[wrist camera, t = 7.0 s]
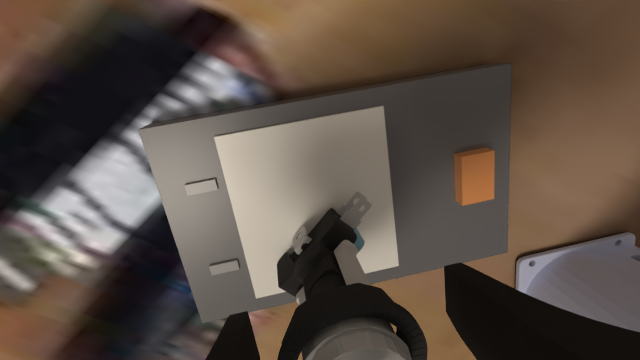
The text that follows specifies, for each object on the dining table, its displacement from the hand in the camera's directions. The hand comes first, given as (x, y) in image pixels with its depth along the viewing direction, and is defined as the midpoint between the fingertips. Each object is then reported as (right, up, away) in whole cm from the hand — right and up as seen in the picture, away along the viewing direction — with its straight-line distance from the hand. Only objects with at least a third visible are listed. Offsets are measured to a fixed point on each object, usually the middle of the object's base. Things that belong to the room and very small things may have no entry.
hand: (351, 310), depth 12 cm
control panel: (0, +4, +10) cm, 11 cm away
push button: (-1, +1, +8) cm, 8 cm away
